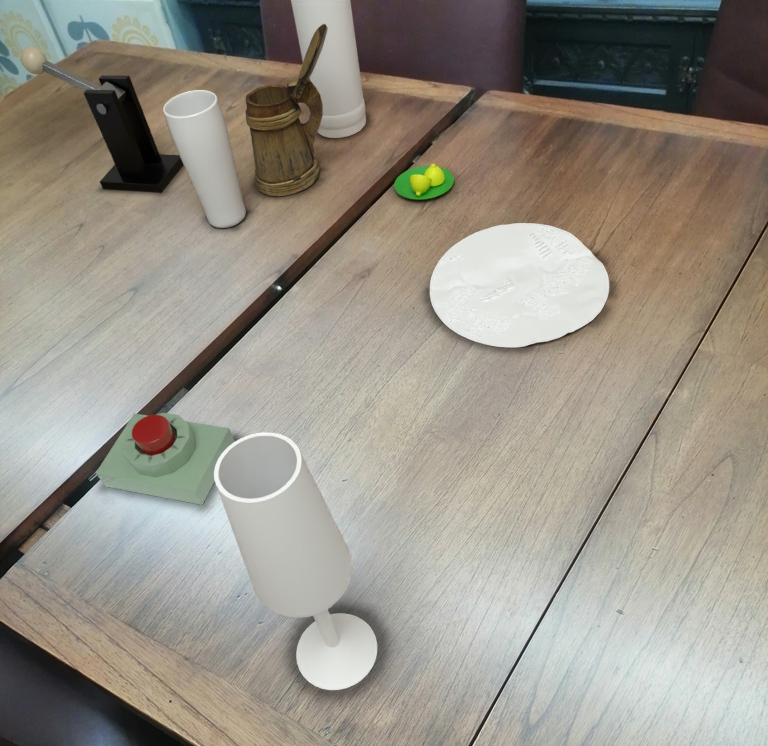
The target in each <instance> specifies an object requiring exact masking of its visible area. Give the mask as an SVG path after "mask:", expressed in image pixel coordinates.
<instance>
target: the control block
mask: <svg viewBox="0 0 768 746" xmlns="http://www.w3.org/2000/svg"><path fill="white" fill-rule="evenodd" d="M155 415H161V416H163V417H165V418H166V419H167V420H168V422H169V424H170V425H171V427H172V429H173V431H174V433H175V440H174V443H173V444H172V446H171V447H170V448H169V449H167V450H166V451H164V452H163V453H160V454H156V455H148V454H145V453H143V452H142V451H141V450H140V449H139V447H138V446H137V444H136V442H135V441H134V439H133V438H132V429H133V427H134V425H135V424H136V423H137V422H138V421H139V420H141V419H142V418H144V417H146V416H149V415H148V414H147V415H146V414H140V413H133V414H132V416H131V417H130V419H129V421H128V422H127V424H125V427H124V429H123V430H122V432H121V433H120V434H119V436H118V437H117V439H116V440H115V442H114V444H113V445H112V447H111V449H110V450H109V452H108V454H106V456H105V458H104V459H103V461H102V463H100V466H99V467H98V469H97V470H96V472H95V475H96V477H98V480H100V481H101V482H102V484H103V486H104V487H106V488H112V489H117V490H120V491H121V490H123V491H128V492H132V493H138V494H143V495H147V496H154V497H158V498H164V499H169V500H173V501H174V500H175V501H179V502H186V503H190V504H194V505H195V504H196V505H201V506H203V505H204V503H205V501H206V499H207V497H208V496H209V494H210V493H211V489H212V488H213V486H214V484H215V480H214V469H215V465H216V463H217V460H218V458H219V457H220V455H221V454H222V453H223V452H224V450H225V449H226V448H227V447H228V446H230V445H231V444H232V443H234V442H235V441H236V439H235V438H234V435H233V434H232V431H231V429H230V428H229V427H224V426H219V425H218V426H217V425H211V424H205V423H198V422H192V421H186V420H185V419H184V418H182V417H181V416H180V415H179V414H173V413H168V412H160V413H157V414H155Z"/></svg>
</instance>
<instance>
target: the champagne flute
mask: <svg viewBox="0 0 768 746" xmlns="http://www.w3.org/2000/svg"><path fill="white" fill-rule="evenodd" d="M313 476H314V475H313V474H312V473H311V471H310V468H309V466H308V464H307V462H306V460H305V459H304V457H303V454H302V452H301V450H300V448H299V446H298V445H297V444H296V443H295V442H294V441H293V440H292V439H290V438H289V437H288V436H286V435H283V434H280V433H277V432H270V431H269V432H267V431H265V432H255V433H251V434H248V435H245V436H243V437H241V438H239V439H237V440H235V442H234V443H232V444H231V445H230V446H228V447H227V448H226V449H225V450H224V452H223V453H222V454H221V455H220V457H219V458H218V460H217V463H216V465H215V469H214V480H215V482H214V484H215V486H216V490H217V491H218V494H219V497H220V500H221V502H222V505H223V508H224V510H225V514H226V516H227V519H228V523H229V524H230V527H231V530H232V533H233V536H234V538H235V541H236V544H237V547H238V549H239V551H240V555H241V558H242V560H243V564H244V566H245V568H246V569H245V570H246V571H247V572H246V573H247V575H248V577H249V580H250V583H251V586H252V589H253V591H254V594H255V595H256V597H257V599H258V601H260V603H261V604H262V605H263V606H264V607H266V608H267V609H268V610H269V611H271V612H273V613H275V614H277V615H280V616H283V617H285V618H294V619H298V618H299V619H300V618H308V617H313V619H314V621H313V622H312V623H311V624H310V625H309V626H308V627H306V629H305V630H304V631H303V633H302V634H301V636H300V638H299V640H298V642H297V646H296V654H295V657H296V664H297V667H298V669H299V672H300V673H301V675H302V676H303V678H304V679H305V680H306V681H307V682H308V683H310V684H311V685H312V686H314V687H317V688H319V689H322V690H326V691H339V690H344V689H348V688H351V687H352V686H355V685H357V684H358V683H360V682H361V681H363V680H364V679H365V677H366V676H368V675H369V673H370V671H371V670H372V668H373V667H374V664H375V662H376V660H377V655H378V642H377V637H376V635H375V632H374V630H373V629H372V627H371V626H370V625H369V624H368V623H367V622H366V620H363V619H362V618H361V617H359V616H357V615H353V614H351V613H345V612H344V613H343V612H338V613H337V612H336V613H330V611H329V609H331V608H332V607H333V606H334V605H336V603H338V601H340V599H341V598H342V597H343V595H344V594H345V593H346V592H347V590H348V587H349V585H350V583H351V580H352V576H353V565H354V564H353V558H352V553H351V551H350V549H349V547H348V544H347V542H346V540H345V538H344V536H343V534H342V533H341V530H340V529H339V526H338V524H337V523H336V521H335V518H334V516H333V515H332V513H331V511H330V508H329V507H328V504H327V502H326V500H325V498H324V497H323V494H322V493H321V491H320V488H319V486H318V485H317V484H318V483H317V482H316V480H315V478H314V477H313Z"/></svg>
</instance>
